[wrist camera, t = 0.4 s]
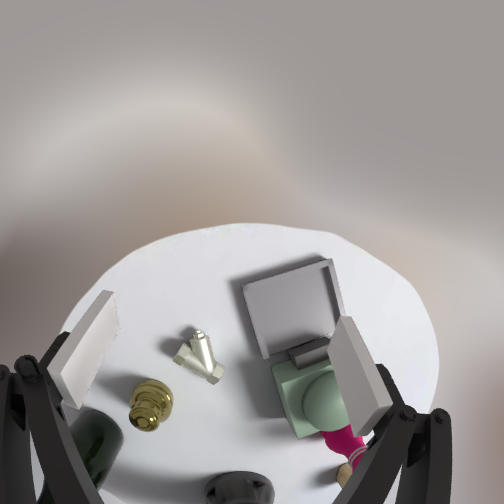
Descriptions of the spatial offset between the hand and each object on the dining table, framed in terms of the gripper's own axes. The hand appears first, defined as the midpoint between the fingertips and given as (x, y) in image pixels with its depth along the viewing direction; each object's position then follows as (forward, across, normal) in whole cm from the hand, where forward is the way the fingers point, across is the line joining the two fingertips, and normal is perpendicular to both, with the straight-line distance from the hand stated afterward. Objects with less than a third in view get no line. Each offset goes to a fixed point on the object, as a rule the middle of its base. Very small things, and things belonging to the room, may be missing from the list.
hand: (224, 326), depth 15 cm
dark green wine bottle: (+11, +23, +42) cm, 50 cm away
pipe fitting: (+22, +3, +24) cm, 33 cm away
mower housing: (+21, -17, +28) cm, 39 cm away
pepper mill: (+16, -24, +39) cm, 49 cm away
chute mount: (+27, -12, +16) cm, 34 cm away
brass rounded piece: (+17, +12, +33) cm, 39 cm away
